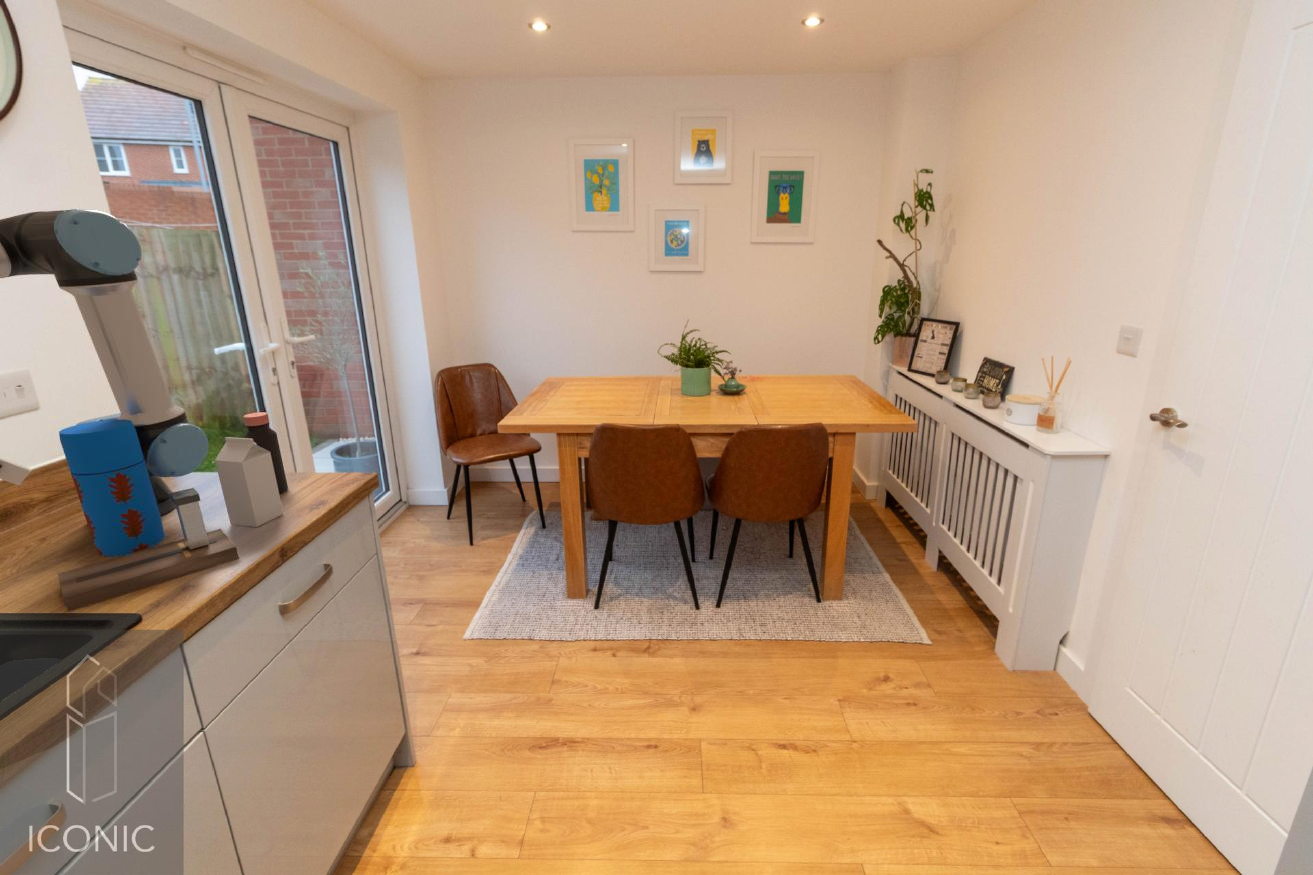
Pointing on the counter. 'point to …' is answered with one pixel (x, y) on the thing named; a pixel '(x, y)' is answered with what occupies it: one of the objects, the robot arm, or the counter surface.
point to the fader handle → (190, 517)
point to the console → (142, 569)
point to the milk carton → (248, 483)
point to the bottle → (266, 444)
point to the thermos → (113, 486)
